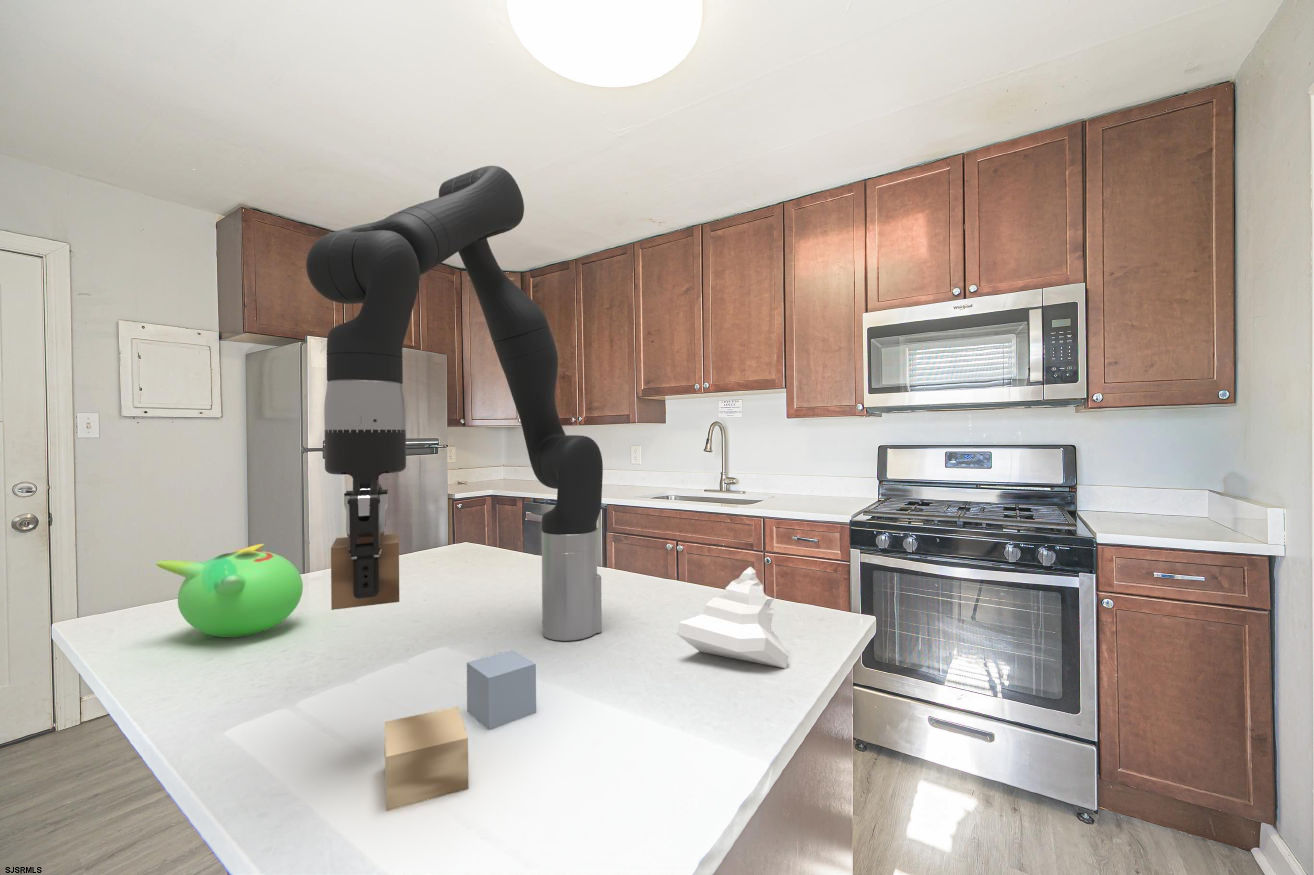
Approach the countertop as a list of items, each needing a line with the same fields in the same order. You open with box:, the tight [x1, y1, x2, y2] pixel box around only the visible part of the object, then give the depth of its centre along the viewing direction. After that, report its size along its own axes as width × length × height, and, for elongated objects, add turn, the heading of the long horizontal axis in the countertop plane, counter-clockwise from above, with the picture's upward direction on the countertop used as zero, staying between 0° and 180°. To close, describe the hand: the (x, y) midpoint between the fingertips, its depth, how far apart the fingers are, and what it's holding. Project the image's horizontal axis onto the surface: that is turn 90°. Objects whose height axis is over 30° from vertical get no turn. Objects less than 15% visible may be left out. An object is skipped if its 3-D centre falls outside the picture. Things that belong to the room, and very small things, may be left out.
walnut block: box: [330, 533, 400, 611], centre depth 59 cm, size 6×6×6 cm
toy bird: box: [155, 543, 304, 638], centre depth 97 cm, size 18×17×15 cm
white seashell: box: [676, 566, 789, 669], centre depth 86 cm, size 12×15×14 cm
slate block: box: [466, 649, 537, 731], centre depth 69 cm, size 6×6×6 cm
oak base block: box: [384, 706, 469, 812], centre depth 56 cm, size 7×7×5 cm
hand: (367, 588), depth 59 cm, fingers closed on walnut block, 6 cm apart
